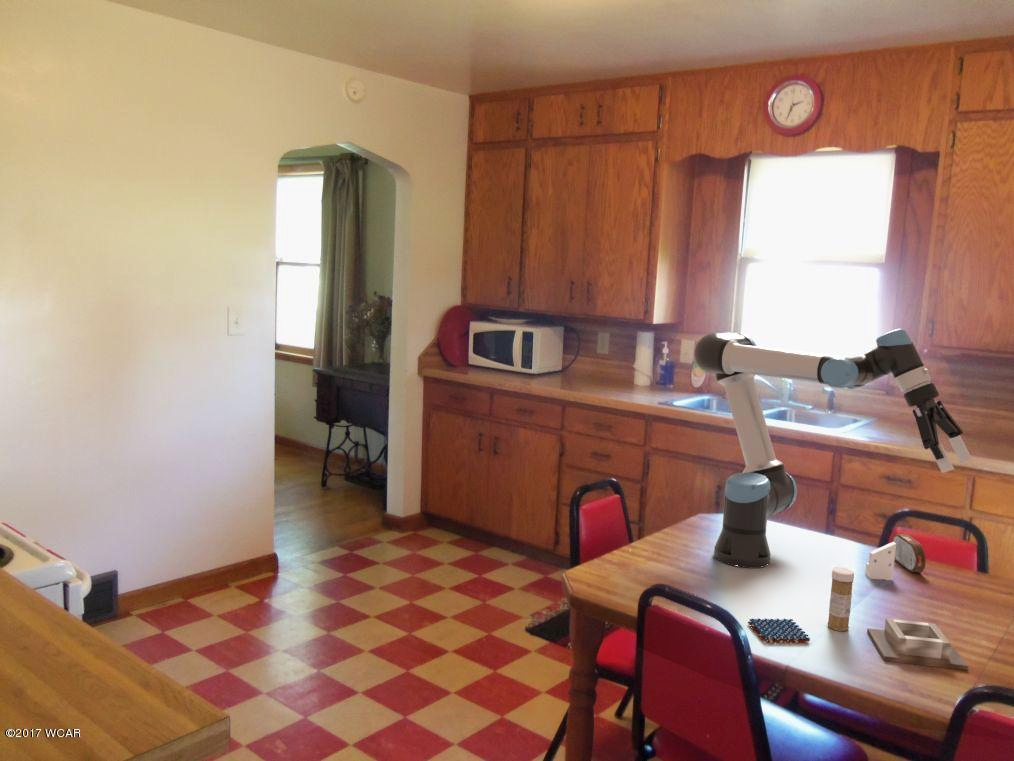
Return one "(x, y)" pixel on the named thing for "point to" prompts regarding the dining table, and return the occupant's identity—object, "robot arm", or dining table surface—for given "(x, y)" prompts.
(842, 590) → the sprinkles bottle
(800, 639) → the woven mat
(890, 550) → the white angled block
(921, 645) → the frame
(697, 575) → the dining table surface
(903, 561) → the tin
